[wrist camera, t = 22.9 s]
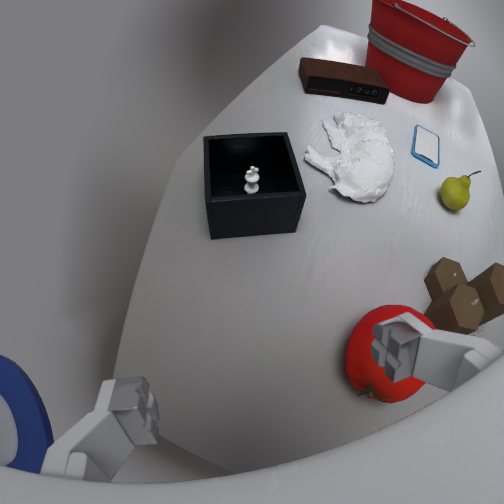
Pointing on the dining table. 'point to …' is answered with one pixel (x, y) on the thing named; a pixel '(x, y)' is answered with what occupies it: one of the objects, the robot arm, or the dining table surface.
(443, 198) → the fruit
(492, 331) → the dining table surface
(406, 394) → the tomato
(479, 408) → the robot arm
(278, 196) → the waste bin
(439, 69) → the bucket
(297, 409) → the dining table surface
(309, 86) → the alarm clock
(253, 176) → the chess piece
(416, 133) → the smartphone
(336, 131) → the figurine
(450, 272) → the candle
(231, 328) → the dining table surface
